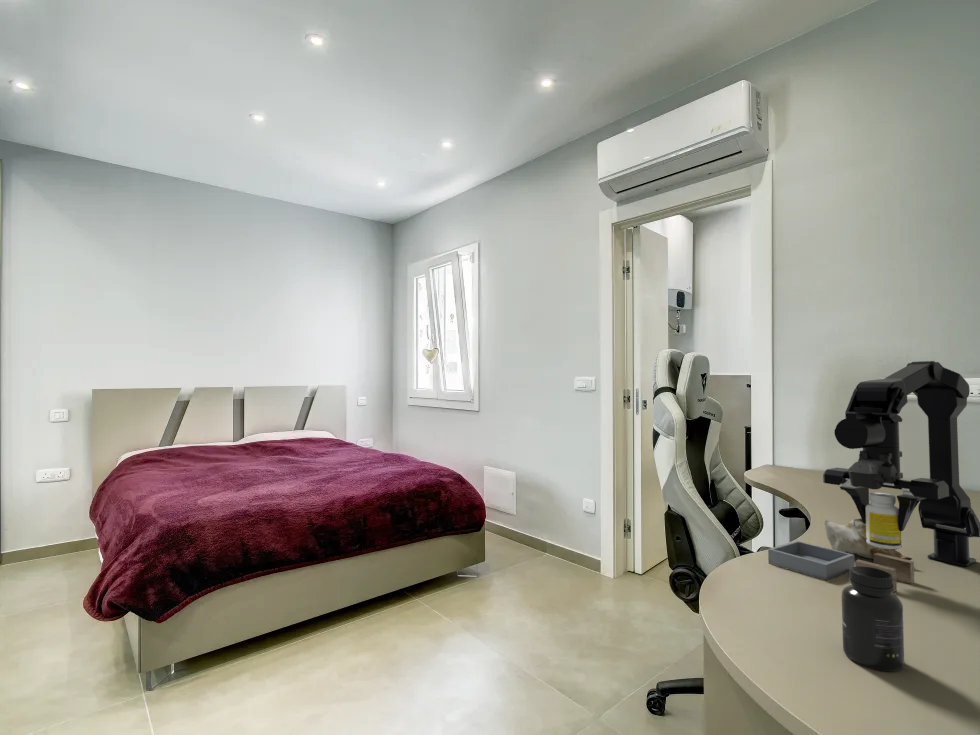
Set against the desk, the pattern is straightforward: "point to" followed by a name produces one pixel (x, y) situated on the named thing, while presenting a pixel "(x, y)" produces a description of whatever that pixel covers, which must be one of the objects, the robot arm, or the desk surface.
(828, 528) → the ceramic sculpture
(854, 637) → the supplement bottle
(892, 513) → the supplement bottle
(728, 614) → the desk surface
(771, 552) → the tray
